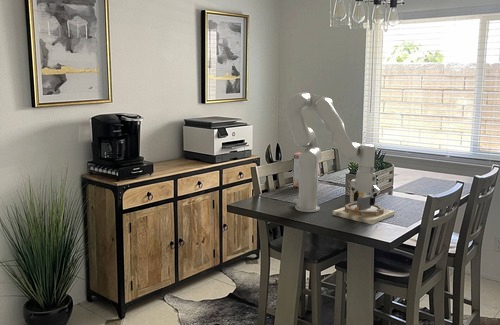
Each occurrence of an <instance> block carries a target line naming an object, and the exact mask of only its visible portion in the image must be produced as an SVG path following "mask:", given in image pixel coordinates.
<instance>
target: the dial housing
mask: <svg viewBox="0 0 500 325" xmlns="http://www.w3.org/2000/svg"><path fill="white" fill-rule="evenodd" d="M353 205H357V202H352V203H350V202H349V203H347V204H345V205H344V206H343V207H340V208H338V209H333V210H332V215H333V216H336V217H341V218H344V219H349V220H353V221H356V222H360V223H361V222H362V223H365V224H369V225H374V224H376V223H379V222H382V221H383V220H386V219H388V218H390V217H393V216H395V212H396V211H395V210H391V209H387V208H383V207H382V206H381V205H380V204H377V203H375V204H374V205H372V206H374V207H376V208H378V209H377V211H358V210H356V209H355V210H353V209H350V206H353Z"/></svg>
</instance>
